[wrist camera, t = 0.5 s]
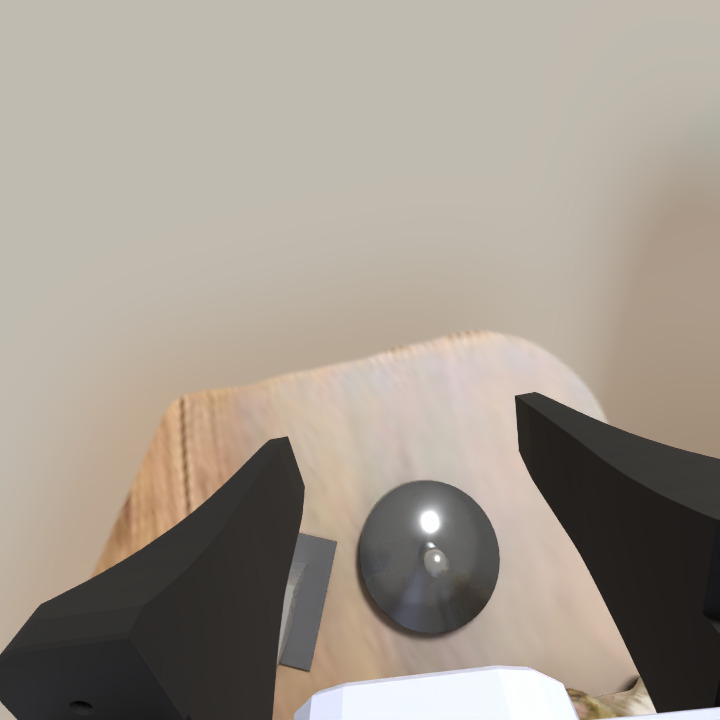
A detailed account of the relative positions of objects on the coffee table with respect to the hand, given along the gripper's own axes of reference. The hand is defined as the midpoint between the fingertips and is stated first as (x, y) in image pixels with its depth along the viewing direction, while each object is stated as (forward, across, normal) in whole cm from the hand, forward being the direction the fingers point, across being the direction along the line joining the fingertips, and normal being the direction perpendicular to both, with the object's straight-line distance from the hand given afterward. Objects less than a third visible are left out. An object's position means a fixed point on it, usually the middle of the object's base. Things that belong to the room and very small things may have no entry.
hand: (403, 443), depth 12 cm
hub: (+15, 0, +22) cm, 27 cm away
